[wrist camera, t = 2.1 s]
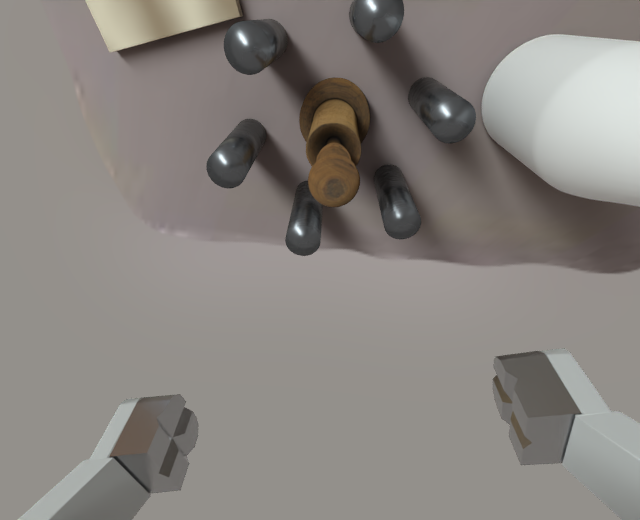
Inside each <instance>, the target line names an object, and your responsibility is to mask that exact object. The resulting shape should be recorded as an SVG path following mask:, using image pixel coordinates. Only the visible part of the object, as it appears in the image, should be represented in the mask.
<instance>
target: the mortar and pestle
mask: <svg viewBox="0 0 640 520" xmlns="http://www.w3.org/2000/svg"><path fill="white" fill-rule="evenodd" d="M369 124H370V112H369V108H368V104H367V100H366V98H365V96H364V94H363V93H362V91H361V90H360V89H359V88H358V87H357V86H356V85H355V84H354V83H352V82H350V81H349V80H346V79H343V78H329V79H325V80H323V81H321V82H319V83H318V84H316V85H315V86H314V87H313V88H312V89H311V90H310V91H309V93H308V94H307V96H306V98H305V99H304V102H303V105H302V107H301V111H300V129H301V132H302V135H303V137H304V139H305V141H306V142H307V143H306V155H307V158H308V161H309V163H310V164H311V166H312V168H311V170H310V173H309V177H308V185H309V189H310V192H311V194H312V196H313V197H314V198H315V199H316V200H317V201H318V202H319V203H321V204H322V205H325V206H328V207H340V206H343V205H345V204H347V203H348V202H350V201H351V200H352V199H353V198H354V197H355V195H356V193H357V191H358V189H359V185H360V176H359V172H358V170H357V168H356V166H357V164H358V162H359V159H360V156H361V143H362V141H363V140H364V138H365V137H366V135H367V132H368V129H369Z"/></svg>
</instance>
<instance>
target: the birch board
mask: <svg viewBox="0 0 640 520" xmlns="http://www.w3.org/2000/svg"><path fill="white" fill-rule="evenodd" d="M85 1H86V3H87V5H88V7H89V9H90V11H91V13H92V16H93V18H94V20H95V22H96V24H97V26H98V28H99V30H100V33H101V35H102V37H103V39H104V41H105V43H106V45H107V47H108V50H109V52H116V51H120V50H123V49H127V48H130V47H134V46H138V45H141V44H145V43H148V42H152V41H156V40H159V39H163V38H166V37H170V36H174V35H177V34H181V33H184V32H188V31H192V30H195V29H199V28H202V27H206V26H210V25H213V24H217V23H220V22H224V21H228V20H231V19H235V18H238V17H242V16H243V14H242V11H241V7H240V3H239V0H85Z"/></svg>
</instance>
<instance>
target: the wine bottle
mask: <svg viewBox="0 0 640 520" xmlns="http://www.w3.org/2000/svg"><path fill="white" fill-rule="evenodd" d="M482 118H483V123H484V125H485V128H486V130H487V132H488V133H489V135H490V136H491V138H492V139H493V140H495V141H496V142H497V143H498V144H499V145H500V146H502V147H503V148H504V149H505V150H507V151H508V152H509V153H510V154H512V155H513V156H514V157H515V158H517V159H518V160H519V161H520V162H522V163H523V164H524V165H525V166H527V167H528V168H529V169H530V170H532V171H533V172H534V173H535V174H537V175H538V176H539V177H540V178H542V179H543V180H544V181H545V182H547V183H548V184H549V185H551V186H553V187H554V188H556V189H558V190H560V191H562V192H565V193H568V194H571V195H575V196H579V197H583V198H587V199H592V200H599V201H606V202H614V203H620V204H626V205H632V206H638V207H640V42H639V41H628V40H617V39H606V38H595V37H584V36H573V35H562V34H554V35H546V36H542V37H538V38H535V39H533V40H531V41H528V42H526V43H524V44H522V45H521V46H519V47H518V48H516V49H514V50H513V51H512V52H511V53H510V54H508V55H507V56H506V57H505V58H504V59H503V60H502V61H501V63H500V64H499V65H498V66H497V67H496V69H495V70H494V72H493V73H492V75H491V77H490V79H489V81H488V82H487V85H486V88H485V90H484V93H483V99H482Z"/></svg>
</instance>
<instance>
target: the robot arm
mask: <svg viewBox="0 0 640 520" xmlns="http://www.w3.org/2000/svg"><path fill="white" fill-rule="evenodd" d="M494 369H495V371H496V374H497V375H496V376H495V377H494V378H493V393H494V398H495V402H496V405H497V408H498V411H499V413H500V416H501V418H502V419H503V420H504V421H506V422H507V423H508V424H509V425H510V430H509V438H510V440H511V443H512V445H513V447H514V450H515V452H516V455H517V457H518V459H519V462H520V464H521V465H531V464H532V465H533V464H553V463H562V466H563V467H564V468H565V469H567V470H568V471H569V472H570V473H571V474H572V475H573V476H574V477H575V478H576V479H578V480H579V481H580V482H581V483H582V484H583V485H584V486H585V487H586V488H587V489H589V490H590V491H591V492H592V493H593V494H594V495H595V496H596V497H597V498H599V500H601V501H602V502H603V503H604V504H605V505H606V506H607V507H608V508H609V509H610V510H612V511H613V512H614V513H615V514H616V515H617V516H618V517H619V518H620V519H622V520H640V424H639V423H638V422H637V421H635V420H633V419H632V418H630V417H628V416H627V415H625V414H624V413H622V412H620V411H611V410H610V408H609V407H608V406H607V404H606V403H605V401H604V400H603V398H602V397H601V396H600V394H599V393H598V391H597V390H596V389H595V387H594V386H593V384H592V383H591V381H590V380H589V379H588V377H587V376H586V374H585V373H584V371H583V370H582V369H581V367H580V366H579V364H578V363H577V362H576V360H575V359H574V357H573V356H572V355H571V353H570V352H569V351H568V350H566V349H565V348H563V349H555V350H546V351H534V352H526V353H518V354H511V355H503V356H497V357H496V358H495V359H494ZM185 403H186V401H185V400H184V398H183V397H182V396H181V395H180V394H178V395H167V396H156V397H144V398H135V399H126V400H125V401H124V402H122V403H121V404H120V406H119V407H118V409H117V411H116V413H115V414H114V416H113V418H112V420H111V422H110V423H109V425H108V427H107V429H106V431H105V433H104V434H103V436H102V438H101V440H100V442H99V443H98V445H97V447H96V449H95V450H94V453H93V454H92V456H91V458H90V459H88V460H84V461H83V462H82V463H80V464H79V465H78V466H77V467H76V468H75V469H74V470H73V471H71V473H69V474H68V475H67V476H66V477H65V478H64V479H63V480H61V481H60V482H59V483H58V484H57V485H56V486H55V487H54V488H53V489H51V490H50V491H49V492H48V493H47V494H46V495H45V496H44V497H43V498H41V499H40V500H39V501H38V502H37V503H36V504H35V505H34V506H32V507H31V508H30V509H29V510H28V511H27V512H26V513H25V514H24V515H22V516H21V517H20V518H19V519H18V520H132V519H133V518H134V516H135V515H136V514H137V512H138V511H139V510H140V508H141V507H142V506H143V505H144V503H145V502H146V501H147V500H148V498H149V497H150V493H159V492H168V491H178V490H181V487H182V484H183V481H184V477H185V475H186V472H187V469H188V465H189V462H188V459H187V455H188V454H189V452H190V451H191V450H192V449H193V448H194V447H195V444H196V441H197V437H198V422H197V418H196V416H195V414H194V413H193V411H191V410H189V409H187V408H185V407H184V406H185Z"/></svg>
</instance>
